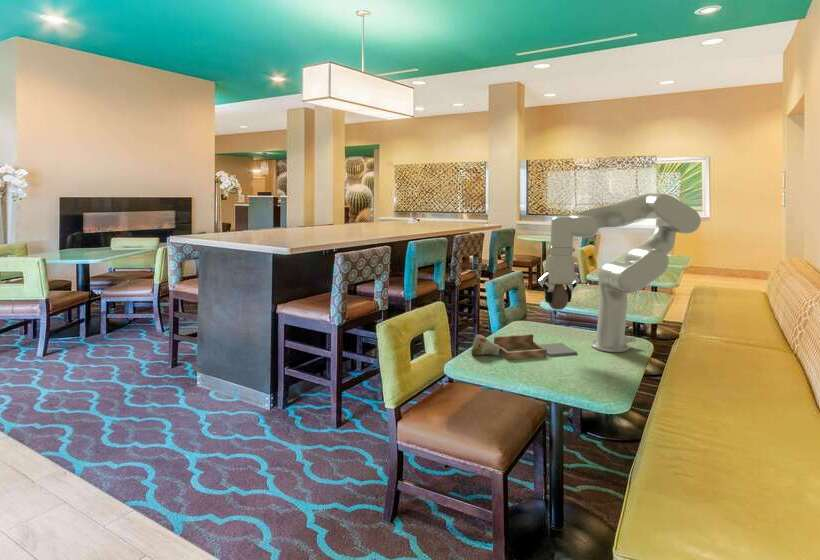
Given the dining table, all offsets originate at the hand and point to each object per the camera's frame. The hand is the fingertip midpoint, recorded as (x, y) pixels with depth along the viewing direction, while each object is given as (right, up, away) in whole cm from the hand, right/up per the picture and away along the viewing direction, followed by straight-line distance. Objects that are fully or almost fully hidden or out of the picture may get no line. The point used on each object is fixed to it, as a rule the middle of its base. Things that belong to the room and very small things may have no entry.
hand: (557, 301), depth 187 cm
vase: (0, -3, 0) cm, 3 cm away
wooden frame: (-14, -18, 0) cm, 23 cm away
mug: (-26, -19, -1) cm, 32 cm away
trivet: (0, -18, +3) cm, 18 cm away
